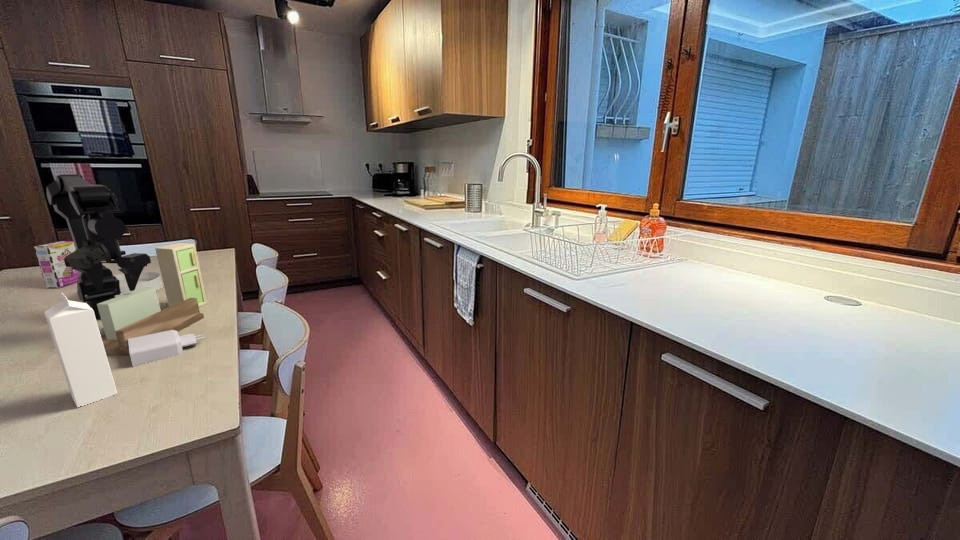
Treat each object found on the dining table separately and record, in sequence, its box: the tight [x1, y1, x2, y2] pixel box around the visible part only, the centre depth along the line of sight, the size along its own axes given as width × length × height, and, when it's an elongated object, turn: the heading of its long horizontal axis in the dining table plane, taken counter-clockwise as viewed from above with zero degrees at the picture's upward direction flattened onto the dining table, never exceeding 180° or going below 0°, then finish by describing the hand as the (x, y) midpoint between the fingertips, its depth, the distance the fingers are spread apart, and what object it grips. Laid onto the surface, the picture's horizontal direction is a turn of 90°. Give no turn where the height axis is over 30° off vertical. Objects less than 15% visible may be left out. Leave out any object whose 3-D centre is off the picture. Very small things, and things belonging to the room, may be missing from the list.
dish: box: [85, 271, 164, 298], centre depth 142 cm, size 22×22×5 cm
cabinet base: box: [100, 298, 205, 356], centre depth 107 cm, size 16×24×6 cm, turn 177°
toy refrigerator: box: [155, 242, 208, 308], centre depth 125 cm, size 8×7×21 cm
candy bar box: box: [33, 240, 80, 289], centre depth 149 cm, size 11×5×16 cm, turn 6°
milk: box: [43, 292, 118, 408], centre depth 76 cm, size 6×6×22 cm
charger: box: [128, 330, 206, 368], centre depth 98 cm, size 5×9×15 cm
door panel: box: [97, 287, 162, 340], centre depth 106 cm, size 3×14×10 cm, turn 177°
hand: (116, 290), depth 106 cm, fingers open, 9 cm apart
